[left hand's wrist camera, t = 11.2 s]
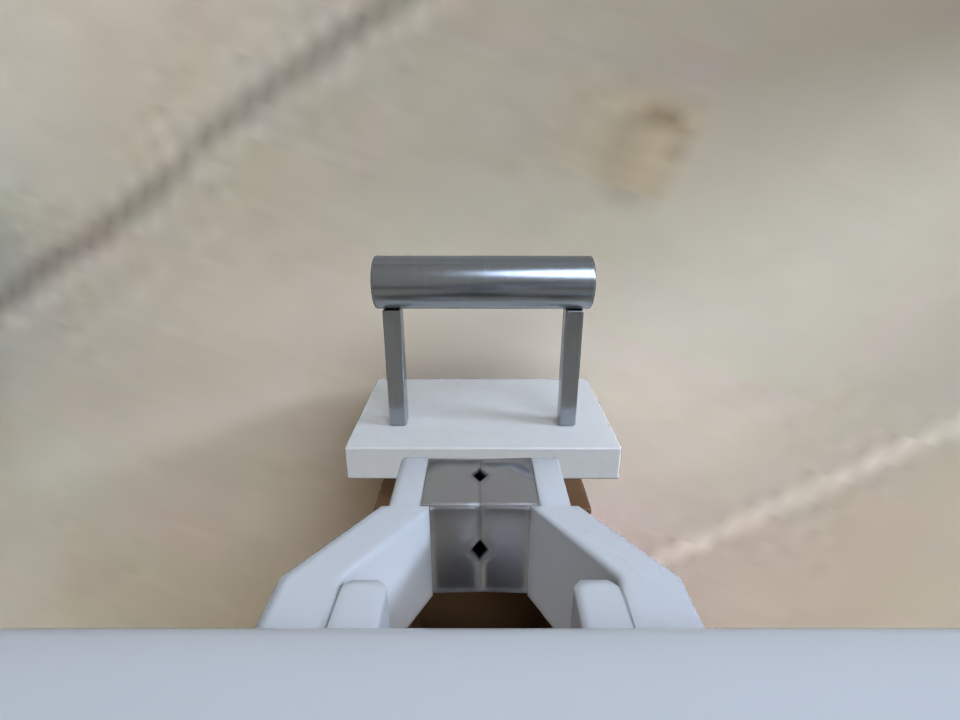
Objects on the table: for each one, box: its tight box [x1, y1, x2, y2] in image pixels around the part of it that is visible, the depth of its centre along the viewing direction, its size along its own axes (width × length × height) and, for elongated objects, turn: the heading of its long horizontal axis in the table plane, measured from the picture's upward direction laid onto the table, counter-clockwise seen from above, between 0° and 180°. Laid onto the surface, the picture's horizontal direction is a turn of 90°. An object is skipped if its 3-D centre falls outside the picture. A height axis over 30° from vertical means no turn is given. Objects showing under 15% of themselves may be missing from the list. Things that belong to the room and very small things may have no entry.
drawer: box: [345, 256, 621, 628], centre depth 21 cm, size 21×9×6 cm, turn 0°
